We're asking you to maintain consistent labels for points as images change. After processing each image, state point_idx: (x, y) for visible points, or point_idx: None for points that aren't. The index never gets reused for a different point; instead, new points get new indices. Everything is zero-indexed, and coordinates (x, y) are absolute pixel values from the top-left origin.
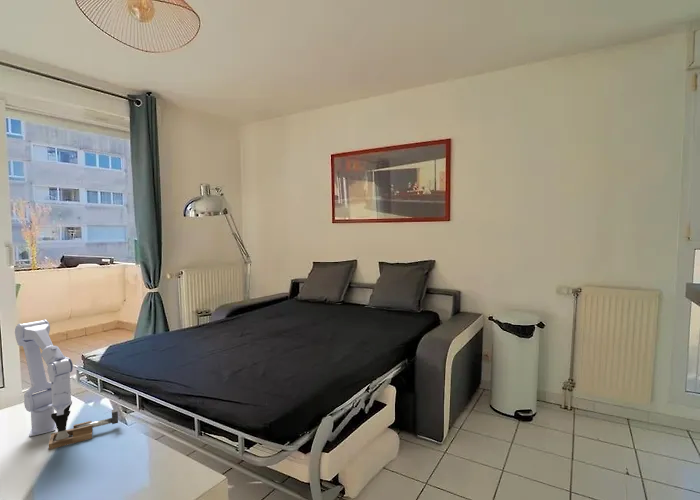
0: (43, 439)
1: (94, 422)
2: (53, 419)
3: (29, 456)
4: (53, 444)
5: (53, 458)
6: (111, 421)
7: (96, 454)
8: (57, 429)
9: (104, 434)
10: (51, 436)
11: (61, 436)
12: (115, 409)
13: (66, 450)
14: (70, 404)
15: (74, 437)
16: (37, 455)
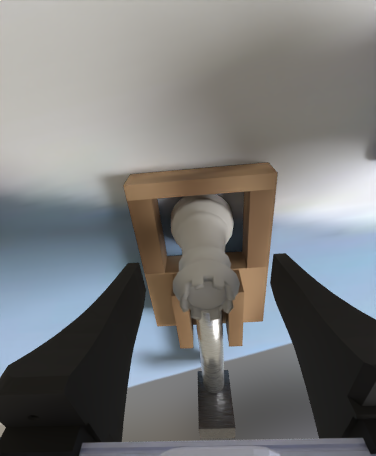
0: (293, 117)
1: (208, 355)
2: (33, 352)
3: (87, 85)
4: (129, 203)
5: (29, 210)
6: (202, 380)
7: (26, 325)
8: (121, 271)
9: (173, 334)
10: (231, 181)
11: (177, 237)
12: (230, 434)
13: (91, 245)
14: (321, 438)
15: (150, 280)
16: (84, 130)
